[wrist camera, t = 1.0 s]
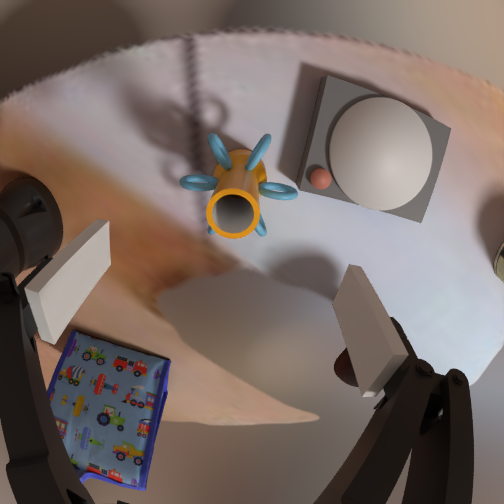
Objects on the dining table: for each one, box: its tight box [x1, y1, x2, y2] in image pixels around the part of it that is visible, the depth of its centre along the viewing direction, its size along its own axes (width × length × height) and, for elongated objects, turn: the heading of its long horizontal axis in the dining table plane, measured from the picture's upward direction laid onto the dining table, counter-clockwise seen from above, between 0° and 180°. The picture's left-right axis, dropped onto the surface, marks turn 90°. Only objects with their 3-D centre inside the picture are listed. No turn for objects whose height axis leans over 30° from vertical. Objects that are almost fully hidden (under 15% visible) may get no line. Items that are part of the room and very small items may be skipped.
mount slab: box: [296, 75, 451, 223], centre depth 31 cm, size 18×14×4 cm
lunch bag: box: [47, 330, 171, 491], centre depth 40 cm, size 22×14×29 cm, turn 75°
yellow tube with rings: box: [179, 133, 298, 239], centre depth 28 cm, size 12×10×15 cm
